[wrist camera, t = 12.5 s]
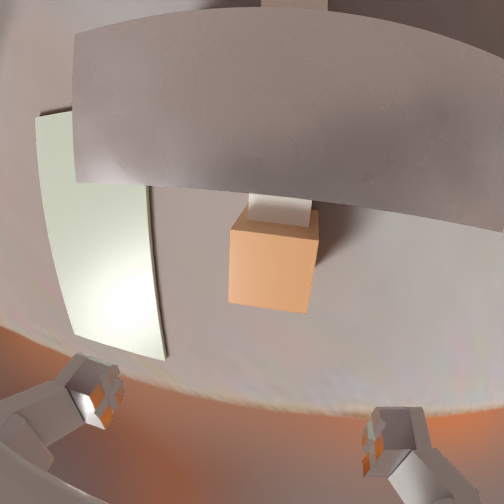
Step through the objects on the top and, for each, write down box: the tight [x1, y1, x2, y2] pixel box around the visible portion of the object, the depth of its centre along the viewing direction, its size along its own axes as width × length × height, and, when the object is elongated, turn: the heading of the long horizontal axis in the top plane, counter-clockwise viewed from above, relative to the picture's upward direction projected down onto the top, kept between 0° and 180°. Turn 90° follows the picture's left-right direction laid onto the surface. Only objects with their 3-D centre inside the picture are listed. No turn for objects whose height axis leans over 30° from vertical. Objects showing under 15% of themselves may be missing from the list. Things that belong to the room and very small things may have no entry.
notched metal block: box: [72, 7, 504, 232], centre depth 12 cm, size 16×6×8 cm, turn 87°
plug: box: [228, 0, 328, 314], centre depth 14 cm, size 4×17×4 cm, turn 177°
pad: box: [35, 111, 167, 361], centre depth 22 cm, size 10×20×1 cm, turn 177°
